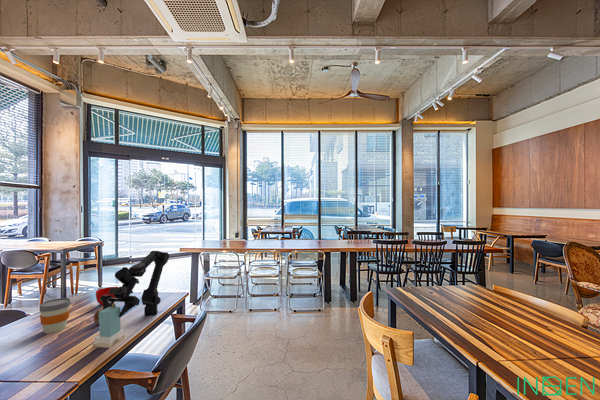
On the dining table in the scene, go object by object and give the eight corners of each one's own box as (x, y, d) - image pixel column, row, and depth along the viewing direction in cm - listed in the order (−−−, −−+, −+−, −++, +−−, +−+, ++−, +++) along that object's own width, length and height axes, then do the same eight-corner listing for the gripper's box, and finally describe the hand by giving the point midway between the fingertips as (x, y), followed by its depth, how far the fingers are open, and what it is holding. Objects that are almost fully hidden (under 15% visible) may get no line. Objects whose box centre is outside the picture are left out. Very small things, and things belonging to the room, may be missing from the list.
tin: (98, 326, 143) (98, 311, 143) (92, 326, 143) (92, 311, 143) (116, 315, 158) (116, 301, 158) (111, 315, 158) (111, 301, 158)
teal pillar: (109, 329, 131) (109, 306, 131) (120, 330, 130) (120, 307, 130) (99, 336, 125) (99, 311, 125) (110, 336, 124) (110, 312, 124)
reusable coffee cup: (42, 337, 131) (43, 308, 131) (35, 331, 138) (36, 303, 138) (74, 327, 142) (74, 300, 142) (66, 322, 148) (66, 296, 149)
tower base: (108, 338, 132) (108, 333, 132) (124, 339, 131) (124, 334, 131) (92, 348, 123) (92, 343, 123) (109, 349, 122) (109, 344, 122)
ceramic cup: (115, 308, 168) (115, 293, 168) (90, 308, 168) (90, 293, 168) (129, 300, 181) (129, 286, 181) (105, 300, 181) (105, 286, 181)
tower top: (107, 334, 131) (107, 329, 131) (122, 334, 131) (122, 329, 131) (94, 342, 123) (94, 337, 123) (110, 343, 123) (110, 337, 123)
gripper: (102, 279, 134) (83, 309, 123) (136, 280, 133) (119, 310, 122) (114, 289, 142) (97, 318, 131) (146, 290, 141) (131, 319, 129)
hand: (110, 316), depth 128 cm, fingers open, 9 cm apart
